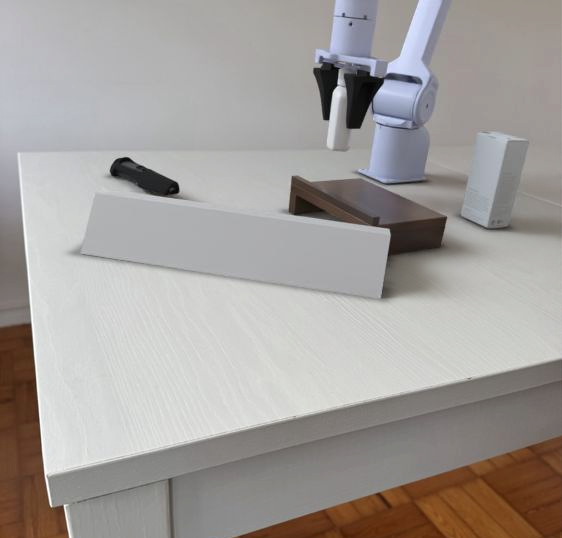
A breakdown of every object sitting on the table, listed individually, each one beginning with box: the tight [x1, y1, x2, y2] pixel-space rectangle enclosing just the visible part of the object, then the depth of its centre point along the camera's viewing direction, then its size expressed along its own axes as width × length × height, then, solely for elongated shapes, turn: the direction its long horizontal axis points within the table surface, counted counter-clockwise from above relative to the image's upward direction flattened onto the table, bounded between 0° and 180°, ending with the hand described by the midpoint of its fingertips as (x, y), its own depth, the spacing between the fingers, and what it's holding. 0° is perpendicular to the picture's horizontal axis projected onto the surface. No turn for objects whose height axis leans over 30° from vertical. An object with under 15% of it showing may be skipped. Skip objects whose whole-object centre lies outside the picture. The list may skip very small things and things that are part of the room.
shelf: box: [287, 175, 448, 256], centre depth 78 cm, size 12×18×5 cm, turn 31°
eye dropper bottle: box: [326, 62, 357, 153], centre depth 86 cm, size 4×6×12 cm
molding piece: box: [79, 190, 391, 300], centre depth 69 cm, size 32×12×10 cm
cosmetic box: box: [460, 130, 530, 229], centre depth 84 cm, size 6×4×12 cm
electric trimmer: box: [109, 156, 181, 197], centre depth 87 cm, size 4×16×3 cm, turn 42°
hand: (341, 124), depth 87 cm, fingers closed on eye dropper bottle, 5 cm apart
